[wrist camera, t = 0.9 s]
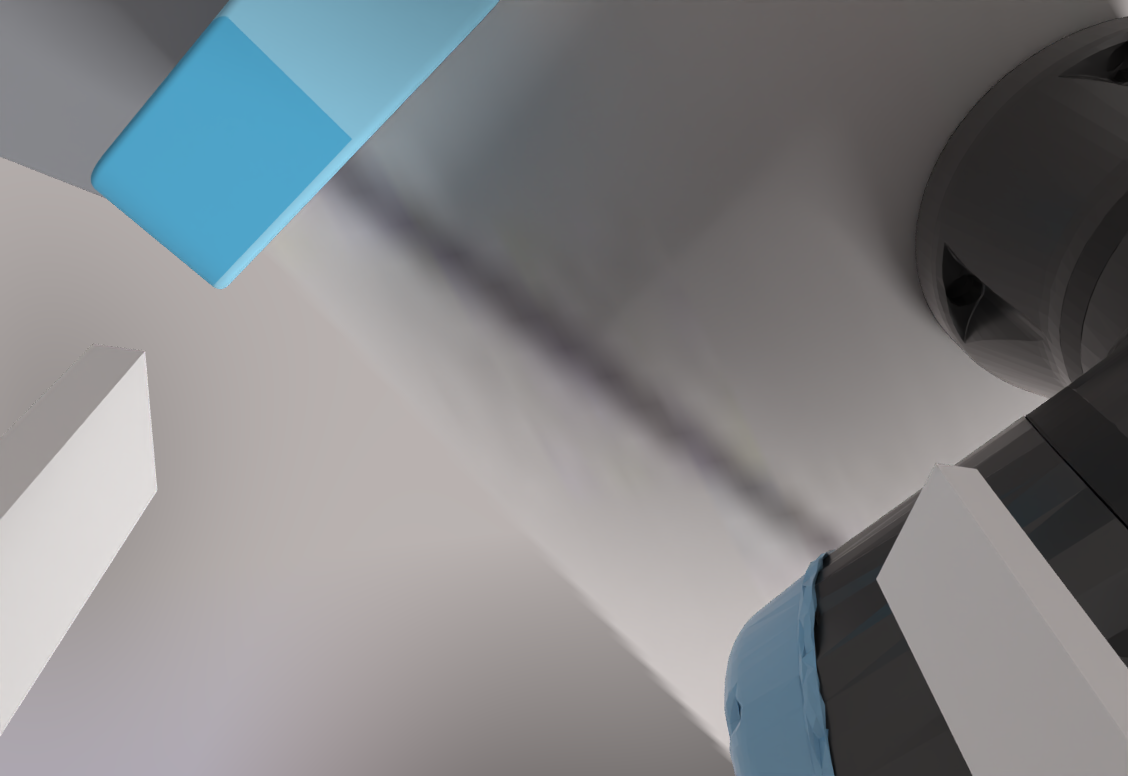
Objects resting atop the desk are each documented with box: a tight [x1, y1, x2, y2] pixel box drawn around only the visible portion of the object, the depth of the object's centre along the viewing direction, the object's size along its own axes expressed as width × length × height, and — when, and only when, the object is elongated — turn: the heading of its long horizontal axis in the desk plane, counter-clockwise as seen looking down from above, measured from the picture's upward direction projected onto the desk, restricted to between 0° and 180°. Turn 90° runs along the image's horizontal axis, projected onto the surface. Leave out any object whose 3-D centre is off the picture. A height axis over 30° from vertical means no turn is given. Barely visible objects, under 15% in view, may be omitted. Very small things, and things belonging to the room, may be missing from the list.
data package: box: [91, 0, 500, 289], centre depth 26 cm, size 12×4×12 cm, turn 132°
